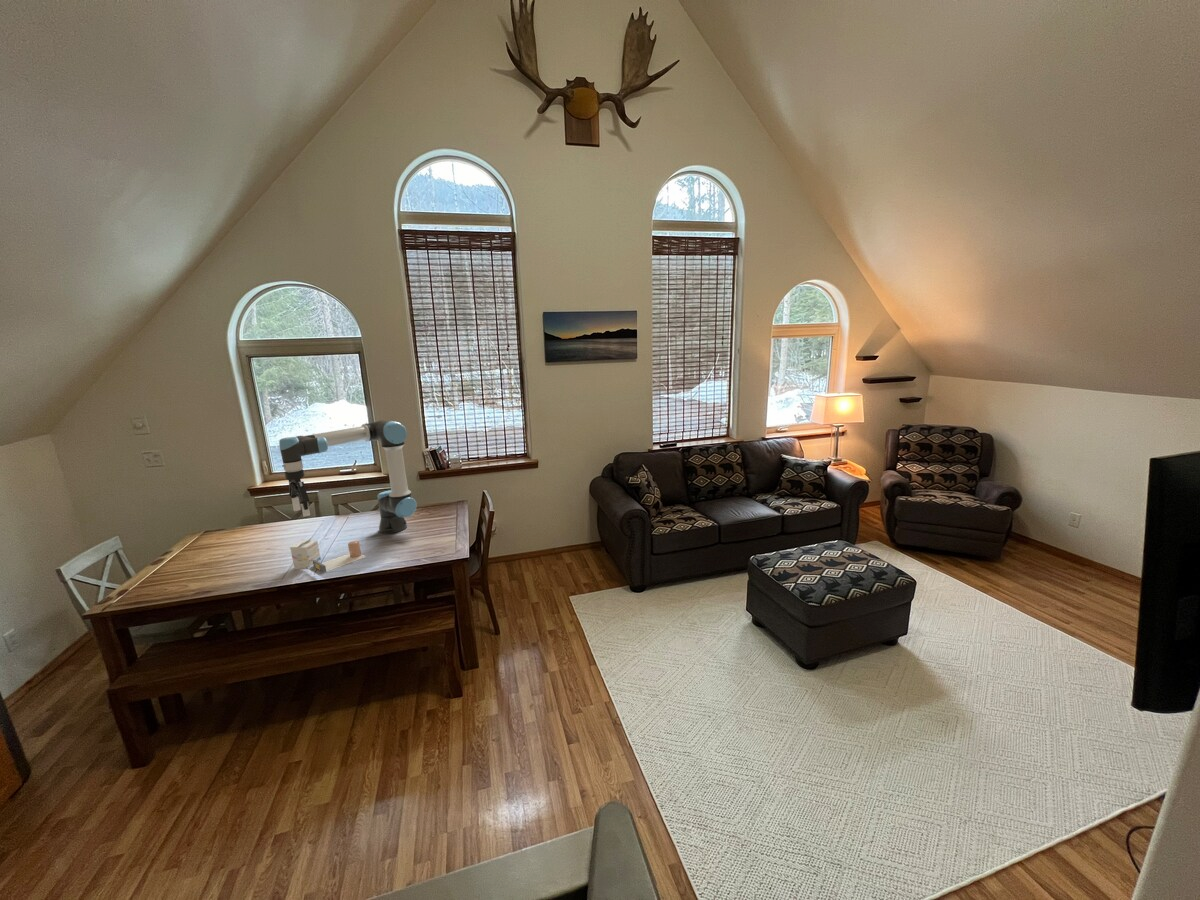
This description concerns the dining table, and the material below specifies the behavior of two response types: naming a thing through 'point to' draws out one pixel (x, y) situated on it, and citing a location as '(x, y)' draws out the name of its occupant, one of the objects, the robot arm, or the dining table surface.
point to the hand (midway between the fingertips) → (302, 513)
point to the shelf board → (335, 562)
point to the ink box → (305, 554)
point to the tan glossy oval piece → (354, 549)
